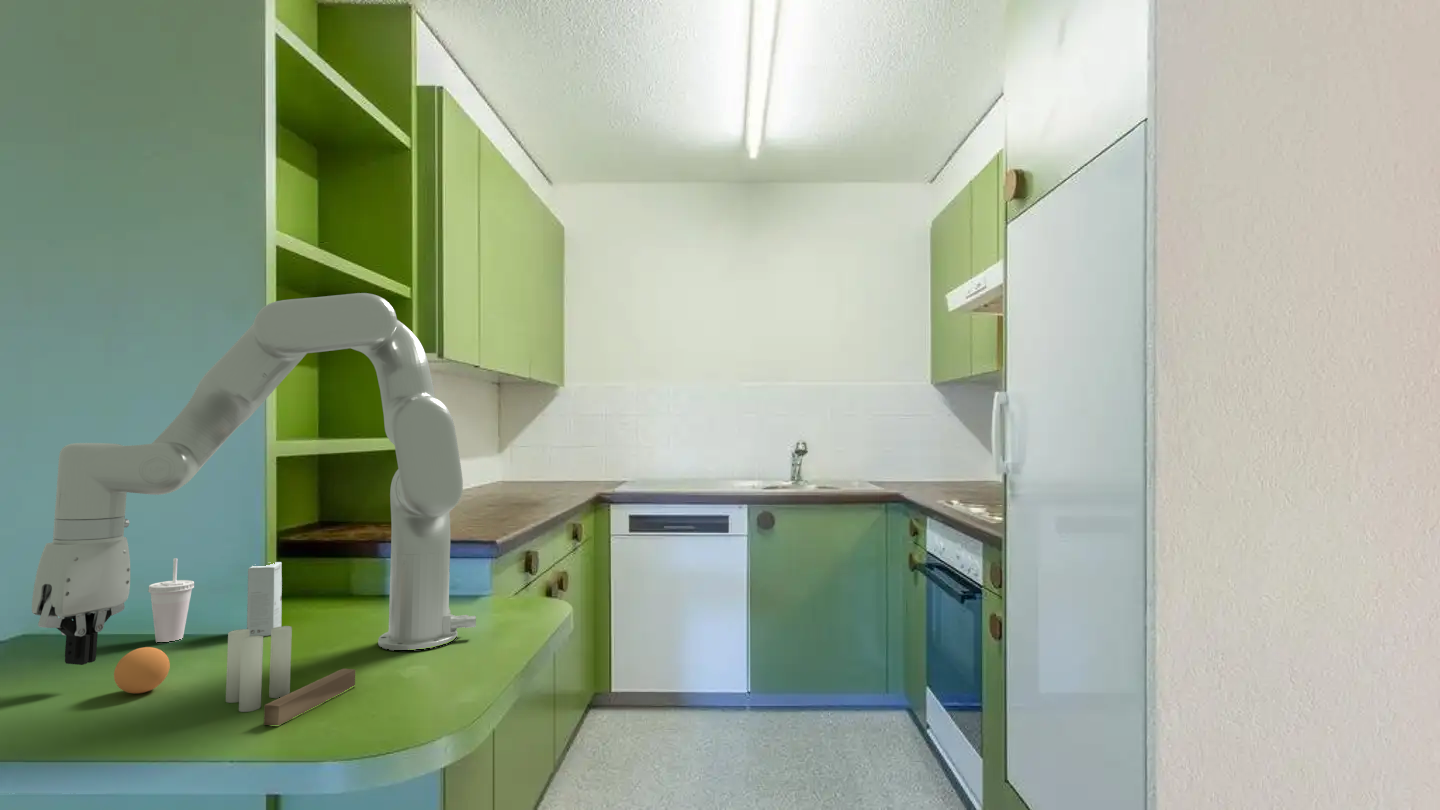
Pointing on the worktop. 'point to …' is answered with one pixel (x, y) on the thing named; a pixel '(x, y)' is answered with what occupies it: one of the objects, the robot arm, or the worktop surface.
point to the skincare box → (264, 599)
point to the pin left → (250, 673)
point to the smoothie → (170, 606)
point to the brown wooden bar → (308, 697)
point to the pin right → (280, 661)
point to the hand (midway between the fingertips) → (80, 662)
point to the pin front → (234, 664)
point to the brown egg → (141, 670)
